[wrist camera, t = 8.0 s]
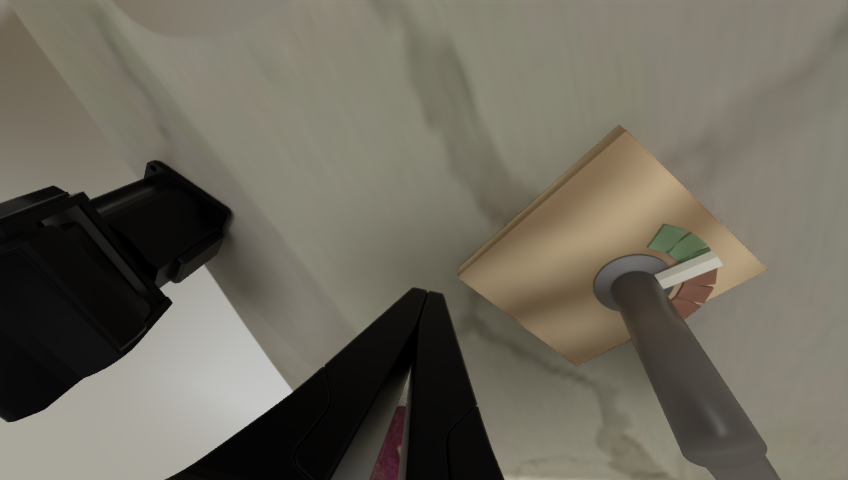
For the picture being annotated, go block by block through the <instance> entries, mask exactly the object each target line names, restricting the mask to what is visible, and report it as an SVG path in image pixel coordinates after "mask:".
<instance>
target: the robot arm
mask: <svg viewBox="0 0 848 480" xmlns="http://www.w3.org/2000/svg"><path fill="white" fill-rule="evenodd" d="M230 216H231V213H230V211H229V209H227V208H226V207H225V206H223V205H222V204H220V203H219V202H217V201H216V200H214V199H213V198H212V197H210V196H209V195H207V194H206V193H204V192H203V191H201V190H200V189H198V188H197V187H195V186H194V185H193V184H191V183H190V182H188V181H187V180H185V179H184V178H182V177H181V176H179V175H178V174H176V173H175V172H174V171H172V170H171V169H169V168H168V167H166V166H165V165H163V164H162V163H160V162H159V161H157V160H153V161H150V162H148V163H147V166H146V170H145V175H144V179H141V180H139V181H136V182H134V183H131V184H128V185H126V186H123V187H121V188H118V189H116V190H113V191H111V192H108V193H106V194H103V195H101V196H98V197H95V198H93V199H89V198H88V196H87V195H86V194H85V193H84V191H83V192H79V193H75V194H71V195H70V194H69V193H68V192H65V191H63V190H61V189H59V188H58V187H55V186H50V187H47V188H44V189H41V190H38V191H34V192H31V193H29V194H26V195H22V196H19V197H16V198H13V199H11V200H8V201H5V202H2V203H0V417H1V418H2V419H4V420H5V421H6V422H14V421H17V420H20V419H22V418H25V417H27V416H30V415H32V414H35V413H38V412H40V411H42V410H44V409H46V408H47V407H48V406H50V405H51V404H52V403H53V402H55V401H56V400H57V399H58V398H59V397H61V396H62V395H63V394H64V393H65V392H67V391H68V390H69V389H70V388H72V387H73V386H74V385H75V384H77V383H78V382H79V381H81V380H82V379H83V378H85V377H88V376H90V375H93V374H95V373H97V372H99V371H101V370H103V369H105V368H107V367H109V366H110V365H112V364H113V363H115V362H116V361H118V360H119V359H121V358H122V357H123V356H125V355H126V354H127V353H128V352H130V351H131V350H132V349H133V348H134V347H135V346H136V345H137V344H138V343H139V342H140V340H141V339H142V338H143V337H144V336H145V335H146V333H147V332H148V331H149V330H150V329H151V328H152V326H153V325H154V324H155V323H156V322H157V321H158V320H159V318H160V317H161V316H162V315H163V314H164V313H165V312H166V310H167V309H168V308H169V307H170V306H171V305H172V301H171V300H170V299H169V297H166V296H165V295H164V294H163V292H162V291H161V290H160V289H159V288H161V287H162V286H163V285H165V284H166V283H168V282H169V281H172V282H173V283H180V282H181V281H183V280H184V279H185V278H186V277H188V276H189V275H190V274H192V273H193V272H194V271H196V270H197V269H198V268H199V267H201V266H202V265H203V264H205V263H206V262H208V261H209V260H210V259H212V258H213V257H214V256H215V255H216V254H217V253H218V250H219V248H220V246H221V244H222V241H223V239H224V237H225V236H224V233H223V232H224V230H225V227H226V225H227V223H228V220H229V218H230ZM410 369H411V372H410ZM409 373H410V379H409V387H408V395H407V404H406V412H405V421H404V429H403V438H402V446H401V455H400V463H399V472H398V480H504V477H503V475H502V472H501V470H500V467H499V465H498V462H497V460H496V458H495V455H494V453H493V450H492V447H491V444H490V442H489V439H488V436H487V433H486V430H485V427H484V424H483V421H482V417H481V414H480V411H479V408H478V407H477V402H476V398H475V395H474V392H473V389H472V385H471V382H470V379H469V376H468V372H467V369H466V366H465V363H464V359H463V356H462V353H461V349H460V346H459V343H458V340H457V336H456V333H455V330H454V327H453V323H452V320H451V317H450V314H449V310H448V307H447V304H446V300H445V297H444V295H443V294H442V293H438V292H433V291H429V292H427V290H424V289H420V288H416V287H413V288H411V289H410V290H409V291H408V292H407V293H406V294H405V295H403V296H402V297H401V298H400V299H399V300H398V301H397V302H395V303H394V304H393V305H392V306H391V307H390V308H389V309H387V310H386V311H385V312H384V313H383V314H382V315H381V316H380V317H378V318H377V319H376V320H375V321H374V322H373V323H372V324H370V325H369V326H368V327H367V328H366V329H365V330H364V331H363V332H361V333H360V334H359V335H358V336H357V337H356V338H355V339H353V340H352V341H351V342H350V343H349V344H348V345H347V346H346V347H344V348H343V349H342V350H341V351H340V352H339V353H338V354H336V355H335V356H334V357H333V358H332V359H331V360H330V361H329V362H327V363H326V364H325V367H321V368H320V369H319V370H318V371H317V372H316V373H315V374H314V375H312V376H311V377H310V378H309V379H308V380H307V381H305V382H304V383H303V384H302V385H301V386H299V387H298V388H297V389H296V390H295V391H293V392H292V393H291V394H290V395H289V396H287V397H286V398H284V399H283V400H282V401H280V402H279V403H278V404H276V405H275V406H274V407H272V408H271V409H270V410H268V411H267V412H266V413H264V414H263V415H261V416H260V417H259V418H257V419H256V420H254V421H253V422H252V423H250V424H249V425H248V426H246V427H245V428H243V429H242V430H241V431H239V432H238V433H236V434H235V435H234V436H232V437H231V438H230V439H228V440H227V441H225V442H224V443H223V444H221V445H220V446H218V447H217V448H215V449H214V450H213V451H211V452H210V453H208V454H207V455H206V456H204V457H203V458H201V459H200V460H198V461H197V462H195V463H194V464H192V465H191V466H189V467H187V468H186V469H184V470H182V471H181V472H179V473H177V474H175V475H173V476H171V477H169V478H167V479H165V480H369V478H370V476H371V473H372V470H373V468H374V465H375V463H376V460H377V457H378V455H379V452H380V449H381V447H382V444H383V442H384V439H385V436H386V434H387V431H388V428H389V426H390V423H391V421H392V418H393V415H394V413H395V410H396V407H397V405H398V402H399V400H400V397H401V394H402V392H403V389H404V386H405V384H406V381H407V378H408V375H409Z"/></svg>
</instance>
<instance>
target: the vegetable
mask: <svg viewBox="0 0 848 480" xmlns="http://www.w3.org/2000/svg"><path fill="white" fill-rule="evenodd" d="M405 412H406V407H396V410H395V413H394V415H393V418H392V421H391V423H390V426H389V428H388V431H387V434H386V436H385V439H384V442H383V444H382V447H381V449H380V452H379V455H378V457H377V460H376V463H375V465H374V468H373V470H372V473H371V476H370V478H369V480H398V472H399V463H400V455H401V446H402V438H403V429H404V421H405Z"/></svg>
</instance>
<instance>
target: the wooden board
mask: <svg viewBox="0 0 848 480" xmlns="http://www.w3.org/2000/svg"><path fill="white" fill-rule="evenodd" d="M710 251H713V252H714V253H715V254H716V255H717V256H718V258H719V259H720V261H721V263H722V264H723V266H721V267H718V268H716V269H713V270H711V271H708V272H706V273H703V274H701V275H698V276H696V277H693V278H691V279H688V280H686V281H683V282H681V283H678V284H676V285H673V286H671V287H668V288H666V289H664V291H665V292H666V294H667V295H668V297H669V298H670V300H671V301H672V303H673V304H674V306H675V307H676V309H677V310H678V312H679V313H680V315H681V316H682V318H684V319H686V318H687V317H688V316H690V315H691V314H692V313H693V312H695V311H696V310H697V309H699V308H700V305H699V304H701V303H705V301H707V300H709V299H711V298H713V297H715V296H717V295H719V294H721V293H723V292H725V291H727V290H729V289H731V288H733V287H735V286H737V285H739V284H741V283H743V282H745V281H747V280H749V279H751V278H753V277H755V276H757V275H759V274H761V273H763V272H765V271H767V270H768V269H767V268H766V267H765V266H764V265H763V264H762V263H761V262H760V261H759V260H758V259H757V258H756V257H755V256H754V255H752V254H751V253H750V252H749V251H748V250H747V249H746V248H745V247H744V246H743V245H742V244H741V243H740V242H739V241H738V240H737V239H736V238H735V237H734V236H733V235H732V234H731V233H730V232H729V231H728V230H727V229H726V228H725V227H724V226H723V225H722V224H721V223H720V222H719V221H718V220H717V219H716V218H715V217H714V216H713V215H712V214H711V213H710V212H709V211H708V210H707V209H706V208H705V207H704V206H703V205H702V204H701V203H700V202H699V201H698V200H697V199H696V198H695V197H694V196H693V195H692V194H691V193H690V192H689V191H688V190H687V189H686V188H685V187H684V186H683V185H681V184H680V183H679V182H678V181H677V180H676V179H675V178H674V177H673V176H672V175H671V174H670V173H669V172H668V171H667V170H666V169H665V168H664V167H663V166H662V165H661V164H660V163H659V162H658V161H657V160H656V159H655V158H654V157H653V156H652V155H651V154H650V153H649V152H648V151H647V150H646V149H645V148H644V147H643V146H642V145H641V144H640V143H639V142H638V141H637V140H636V139H635V138H634V137H633V136H632V135H631V134H630V133H629V132H628V131H627V130H625V129H624V128H623V127H621V126H620V125H619V126H618V127H616V128H615V129H614V130H613V131H612V132H611V133H610V134H609V135H607V136H606V137H605V138H604V139H603V140H602V141H601V142H600V143H598V144H597V145H596V146H595V147H594V148H593V149H592V150H591V151H589V152H588V153H587V154H586V155H585V156H584V157H583V158H582V159H580V160H579V161H578V162H577V163H576V164H575V165H574V166H573V167H571V168H570V169H569V170H568V171H567V172H566V173H565V174H564V175H562V176H561V177H560V178H559V179H558V180H557V181H556V182H555V183H553V184H552V185H551V186H550V187H549V188H548V189H547V190H546V191H544V192H543V193H542V194H541V195H540V196H539V197H538V198H537V199H535V200H534V201H533V202H532V203H531V204H530V205H529V206H528V207H526V208H525V209H524V210H523V211H522V212H521V213H520V214H519V215H517V216H516V217H515V218H514V219H513V220H512V221H511V222H509V223H508V224H507V225H506V226H505V227H504V228H503V229H502V230H500V231H499V232H498V233H497V234H496V235H495V236H494V237H493V238H491V239H490V240H489V241H488V242H487V243H486V244H485V245H484V246H482V247H481V248H480V249H479V250H478V251H477V252H476V253H475V254H473V255H472V256H471V257H470V258H469V259H468V260H467V261H466V262H464V263H463V264H462V265H461V266H460V267H459V271H458V278H459V279H461V280H462V281H463V282H465V283H466V284H467V285H469V286H470V287H471V288H473V289H474V290H475V291H477V292H478V293H479V294H481V295H482V296H483V297H485V298H486V299H487V300H489V301H490V302H491V303H493V304H494V305H495V306H497V307H498V308H499V309H501V310H502V311H503V312H505V313H506V314H507V315H509V316H510V317H511V318H513V319H514V320H515V321H517V322H518V323H519V324H521V325H522V326H523V327H525V328H526V329H527V330H529V331H530V332H531V333H533V334H534V335H535V336H537V337H538V338H539V339H541V340H542V341H543V342H545V343H546V344H547V345H549V346H550V347H551V348H553V349H554V350H555V351H557V352H558V353H559V354H561V355H562V356H563V357H565V358H566V359H567V360H569V361H570V362H571V363H573V364H574V365H575V366H578V365H580V364H582V363H584V362H586V361H588V360H590V359H592V358H594V357H596V356H598V355H600V354H602V353H604V352H606V351H608V350H610V349H612V348H614V347H616V346H618V345H620V344H622V343H624V342H626V341H628V340H630V339H631V337H630V334H629V332H628V330H627V328H626V325H625V323H624V321H623V319H622V316H621V314H620V312H619V310H618V307H617V305H616V303H615V301H614V298H613V296H612V294H611V286H612V284H613V282H614V281H615V280H616V279H617V278H618V277H620V276H621V275H623V274H626V273H629V272H634V271H643V272H647V273H650V274H652V275H653V276H654V275H655V274H658V273H660V272H662V271H665V270H667V269H670V268H672V267H674V266H677V265H679V264H681V263H684V262H686V261H688V260H691V259H693V258H696V257H698V256H700V255H703V254H705V253H707V252H710ZM662 288H663V287H662Z"/></svg>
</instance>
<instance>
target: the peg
mask: <svg viewBox="0 0 848 480" xmlns="http://www.w3.org/2000/svg"><path fill="white" fill-rule="evenodd" d="M721 266H723V264H722V263H721V261H720V259H719V258H718V256H717V255H716V254H715V253H714V252H713V251H710V252H707V253H705V254H703V255H700V256H698V257H696V258H693V259H691V260H688V261H686V262H684V263H681V264H679V265H677V266H674V267H672V268H670V269H667V270H665V271H662V272H660V273H658V274H655V275H654V276H653V275H652V274H650V273H647V272H643V271H634V272H629V273H626V274H623V275H621V276H620V277H618V278H617V279H616V280H615V281H614V282H613V284H612V286H611V294H612V296H613V298H614V301H615V303H616V305H617V307H618V310H619V312H620V314H621V316H622V319H623V321H624V323H625V325H626V328H627V330H628V332H629V334H630V337H631V339H632V341H633V343H634V346H635V348H636V350H637V352H638V355H639V357H640V359H641V362H642V364H643V366H644V368H645V371H646V373H647V375H648V377H649V380H650V382H651V384H652V386H653V389H654V391H655V393H656V395H657V398H658V400H659V402H660V404H661V407H662V409H663V411H664V413H665V416H666V418H667V420H668V422H669V425H670V427H671V429H672V431H673V434H674V436H675V438H676V441H677V443H678V445H679V447H680V450H681V452H682V454H683V456H684V457H685V458H686V459H687V460H689V461H690V462H692V463H694V464H696V465H699V466H703V467H706V468H707V469H708V470H709V472H710V473H711V474H712V475H713V476H714V478H715V479H716V480H781V479H780V478H779V476H778V475H777V473H776V472H775V470H774V468H773V467H772V465H771V464H770V462H769V461H768V459H767V457H766V456H765V454H766V452H767V446H766V444H765V442H764V441H763V439H762V438H761V436H760V435H759V433H758V432H757V430H756V429H755V427H754V426H753V424H752V423H751V421H750V420H749V418H748V416H747V415H746V413H745V412H744V410H743V409H742V407H741V406H740V404H739V403H738V401H737V400H736V398H735V397H734V395H733V394H732V392H731V391H730V389H729V388H728V386H727V385H726V383H725V382H724V380H723V379H722V377H721V376H720V374H719V372H718V371H717V369H716V368H715V366H714V365H713V363H712V362H711V360H710V359H709V357H708V356H707V354H706V353H705V351H704V350H703V348H702V347H701V345H700V344H699V342H698V341H697V339H696V338H695V336H694V335H693V333H692V332H691V330H690V328H689V327H688V325H687V324H686V322H685V321H684V319H683V318H682V316H681V315H680V313H679V312H678V310H677V309H676V307H675V306H674V304H673V303H672V301H671V300H670V298H669V297H668V295H667V294H666V292H665V291H664V289H666V288H668V287H671V286H673V285H676V284H678V283H681V282H683V281H686V280H688V279H691V278H693V277H696V276H698V275H701V274H703V273H706V272H708V271H711V270H713V269H716V268H718V267H721ZM662 287H663V288H662Z"/></svg>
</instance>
